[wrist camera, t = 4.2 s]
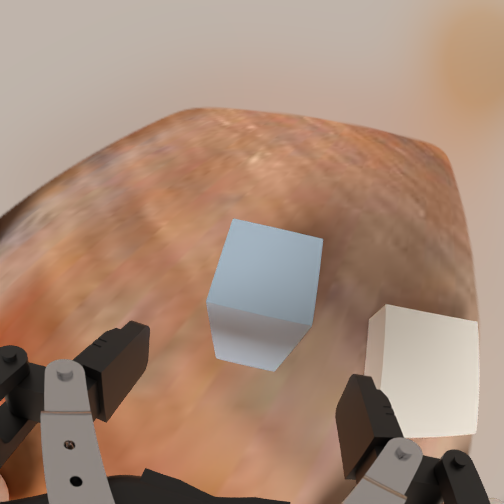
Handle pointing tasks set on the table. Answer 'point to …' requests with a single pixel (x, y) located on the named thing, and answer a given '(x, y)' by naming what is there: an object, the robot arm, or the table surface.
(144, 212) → the table surface
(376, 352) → the base
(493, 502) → the headphones
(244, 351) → the pillar
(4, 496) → the egg
